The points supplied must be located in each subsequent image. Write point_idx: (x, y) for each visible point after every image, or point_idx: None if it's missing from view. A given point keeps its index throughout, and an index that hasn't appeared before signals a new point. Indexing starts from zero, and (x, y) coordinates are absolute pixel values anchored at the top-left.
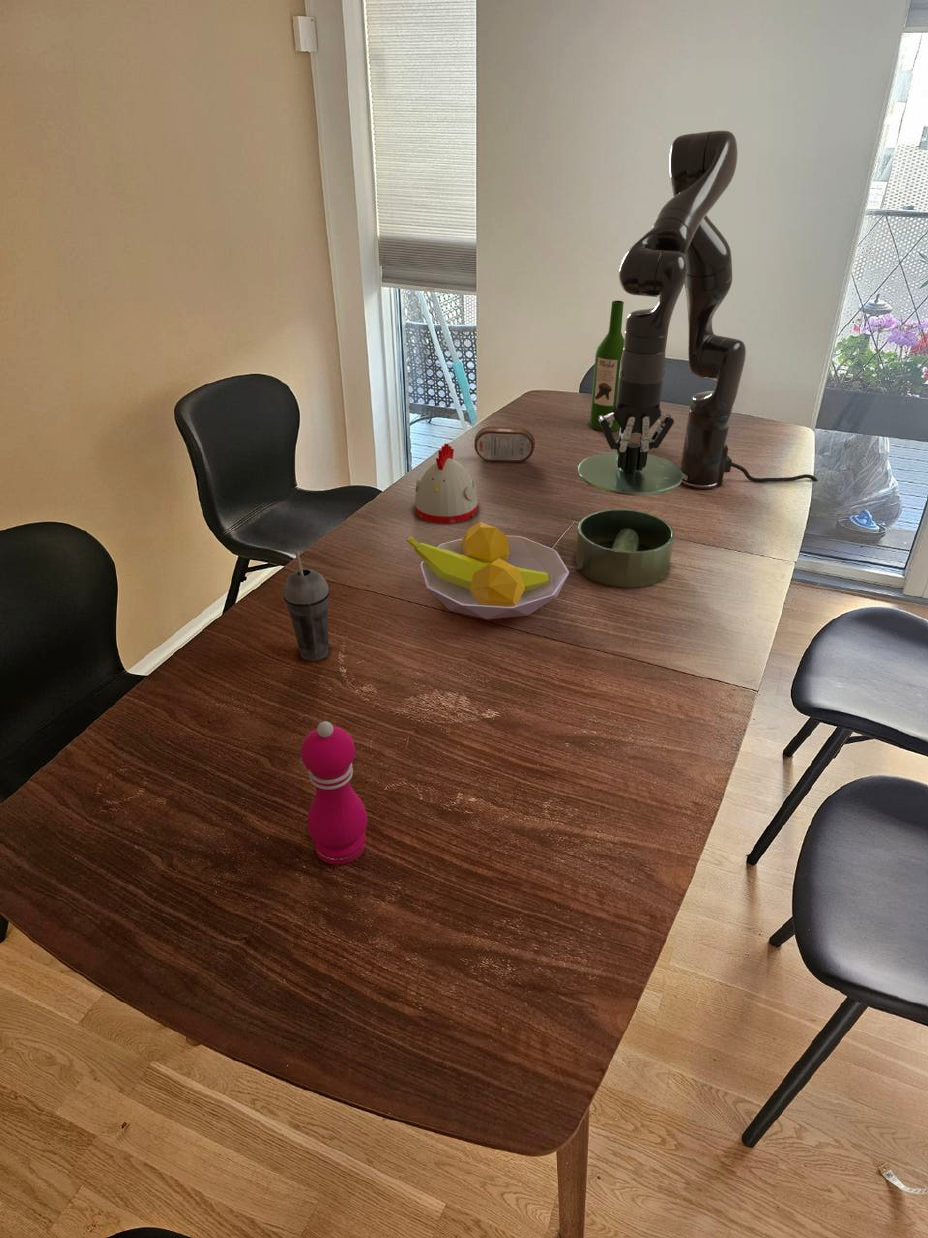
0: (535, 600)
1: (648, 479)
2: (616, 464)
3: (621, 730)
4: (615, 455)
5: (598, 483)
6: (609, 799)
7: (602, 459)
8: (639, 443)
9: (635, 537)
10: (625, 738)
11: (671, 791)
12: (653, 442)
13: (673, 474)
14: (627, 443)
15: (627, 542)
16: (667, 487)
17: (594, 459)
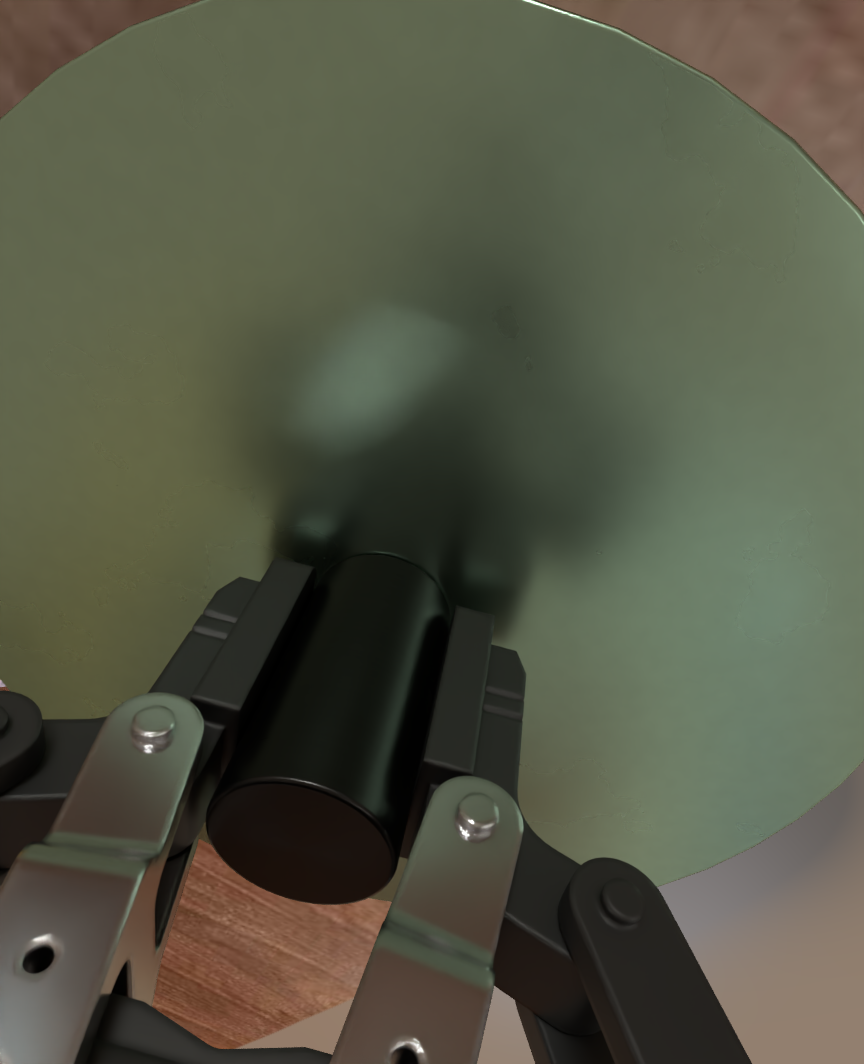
0: (2, 684)
1: None
2: (235, 580)
3: (214, 904)
4: (381, 162)
5: (58, 707)
6: (162, 972)
7: (174, 251)
8: (426, 811)
9: None
10: (216, 916)
11: (256, 993)
12: (527, 1019)
13: (732, 784)
14: (170, 927)
15: None
16: None
17: (74, 222)
